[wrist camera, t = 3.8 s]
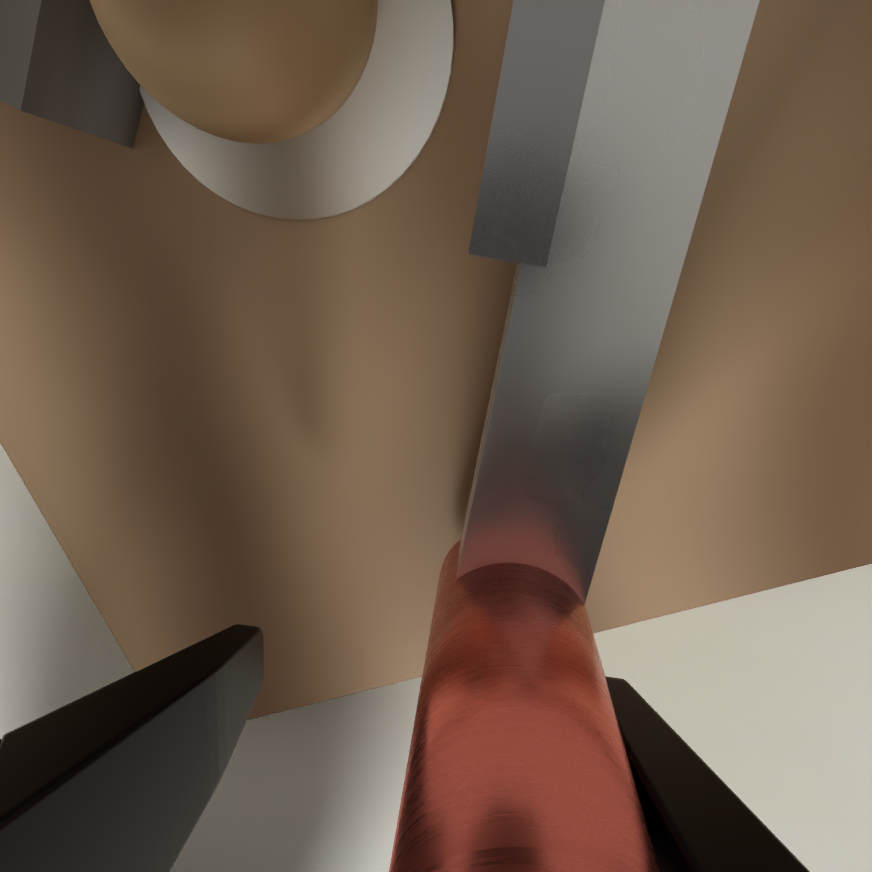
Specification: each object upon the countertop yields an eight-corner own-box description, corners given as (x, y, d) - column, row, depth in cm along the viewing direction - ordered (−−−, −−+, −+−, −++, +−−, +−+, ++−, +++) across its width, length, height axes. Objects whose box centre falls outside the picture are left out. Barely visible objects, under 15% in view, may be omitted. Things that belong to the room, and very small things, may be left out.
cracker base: (198, 701, 14) (107, 836, 11) (-210, -26, 10) (-552, -170, 7) (1090, 467, 11) (1368, 559, 7) (983, -790, 7) (1488, -1877, 3)
